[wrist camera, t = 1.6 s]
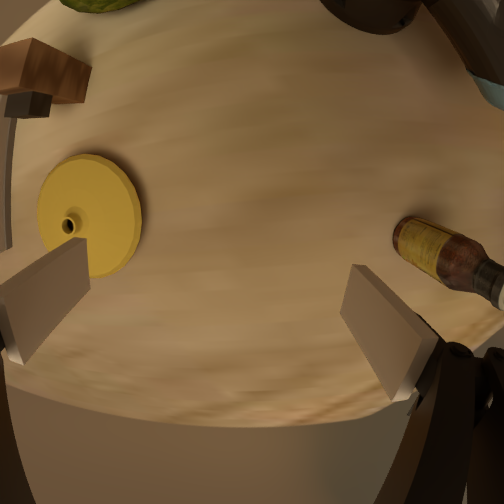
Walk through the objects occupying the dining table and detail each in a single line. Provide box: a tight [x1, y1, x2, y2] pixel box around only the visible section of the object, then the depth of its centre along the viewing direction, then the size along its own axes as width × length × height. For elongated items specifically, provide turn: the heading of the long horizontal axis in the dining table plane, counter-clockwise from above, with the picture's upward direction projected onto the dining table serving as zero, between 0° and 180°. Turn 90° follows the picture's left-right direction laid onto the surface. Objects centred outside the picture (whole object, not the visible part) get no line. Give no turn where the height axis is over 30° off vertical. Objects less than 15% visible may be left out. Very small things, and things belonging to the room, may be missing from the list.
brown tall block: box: [0, 38, 92, 119], centre depth 23 cm, size 8×5×14 cm, turn 170°
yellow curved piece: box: [37, 154, 142, 278], centre depth 31 cm, size 16×16×7 cm
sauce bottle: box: [393, 217, 504, 311], centre depth 28 cm, size 6×6×20 cm
